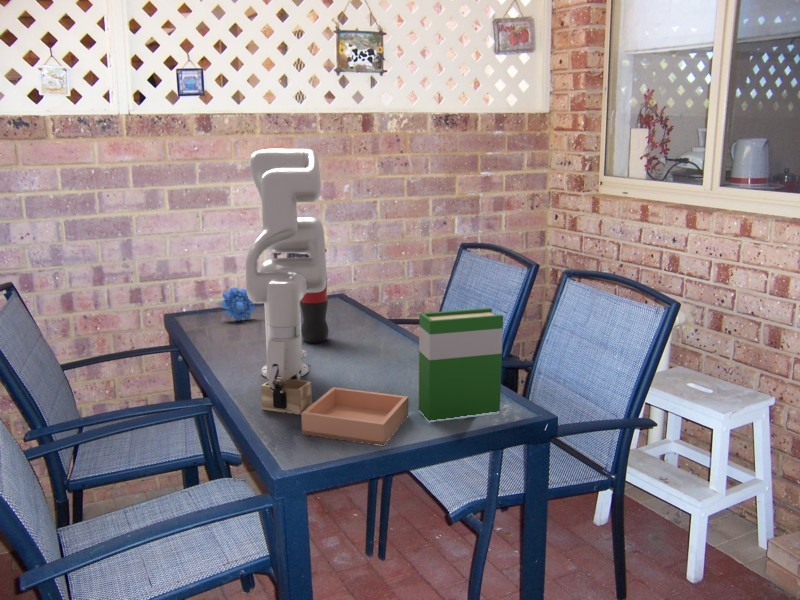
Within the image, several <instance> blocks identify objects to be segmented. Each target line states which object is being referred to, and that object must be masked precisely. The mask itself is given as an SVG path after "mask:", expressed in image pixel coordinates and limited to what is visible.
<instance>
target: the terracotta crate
mask: <svg viewBox="0 0 800 600" xmlns="http://www.w3.org/2000/svg"><path fill="white" fill-rule="evenodd" d="M300 415H301V435H302V434H305V435H304V436H309V435H311V437H316V436H321V437H320V438H323V437H327V438H326V439H329V438H334V439H333V440H336V439H342V440H341V441H343V440H348V441H347V442H349V441H355V442H354V443H356V442H363V443H370V444H378V445H379V444H380V445H384V444H385V443H386V442H387V440H388V439H389V438H390V437H391V436H392V434H393V433H394V432H395V431H396V429H397V428H398V427H399V426H400V425H401V423H402V422H403V421H404V420H405V419H406V418H407V416H408V417H409V396H408V395H405V396H404V395H398V394H389V393H382V392H376V391H375V392H374V391H368V390H367V391H366V390H360V389H359V390H357V389H350V388H342V387H335V386H333V387H331V388H330V389H329V390H328V391H326V392H325V393H324V394H323V395H322V396H320V397H319V398H318V399H316V401H314V402H312V405H311V406H310V407H308V408H307V409H306V410H305V411H303V412H302V413H301V414H300ZM407 419H408V418H407ZM407 419H406V420H407ZM406 420H405V421H406ZM405 421H404V422H405ZM401 426H402V425H401ZM401 426H400V427H401ZM400 427H399V428H400ZM396 432H397V431H396ZM396 432H395V433H396ZM395 433H394V434H395ZM392 437H393V436H392ZM392 437H391V438H392ZM391 438H390V439H391ZM390 439H389V440H390ZM389 440H388V441H389ZM363 443H362V444H363ZM387 443H388V442H387ZM387 443H386V444H387ZM370 444H369V445H370ZM386 444H385V445H386ZM385 445H384V446H385Z"/></svg>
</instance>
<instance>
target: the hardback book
mask: <svg viewBox="0 0 800 600" xmlns="http://www.w3.org/2000/svg"><path fill="white" fill-rule="evenodd" d="M492 310H493V309H492V307H486V308H472V309H471V308H470V309H459V310H458V309H457V310H445V311H444V310H443V311H432V312H420V313H419V317H418V318H419V320H418V321H419V324H418V325H419V326H418V327H419V328H418V329H419V332H418V335H419V336H418V337H419V338H418V339H419V341H418V348H419V349H418V357H419V358H418V411H419V410H420V411H421V412H422V413H423V414H424V416H425V417H426V418H427V419H428V420H429V421H430V420H437V419H446V418H454V417H460V416H467V415H476V414H482V413H489V412H497V411H500V412H501V392H502V391H501V388H502V387H501V385H502V364H503V363H502V362H503V361H502V359H503V339H504V338H503V334H504V333H503V332H504V315H503V314H494V313H492V312H493V311H492ZM424 416H423V417H424Z"/></svg>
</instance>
